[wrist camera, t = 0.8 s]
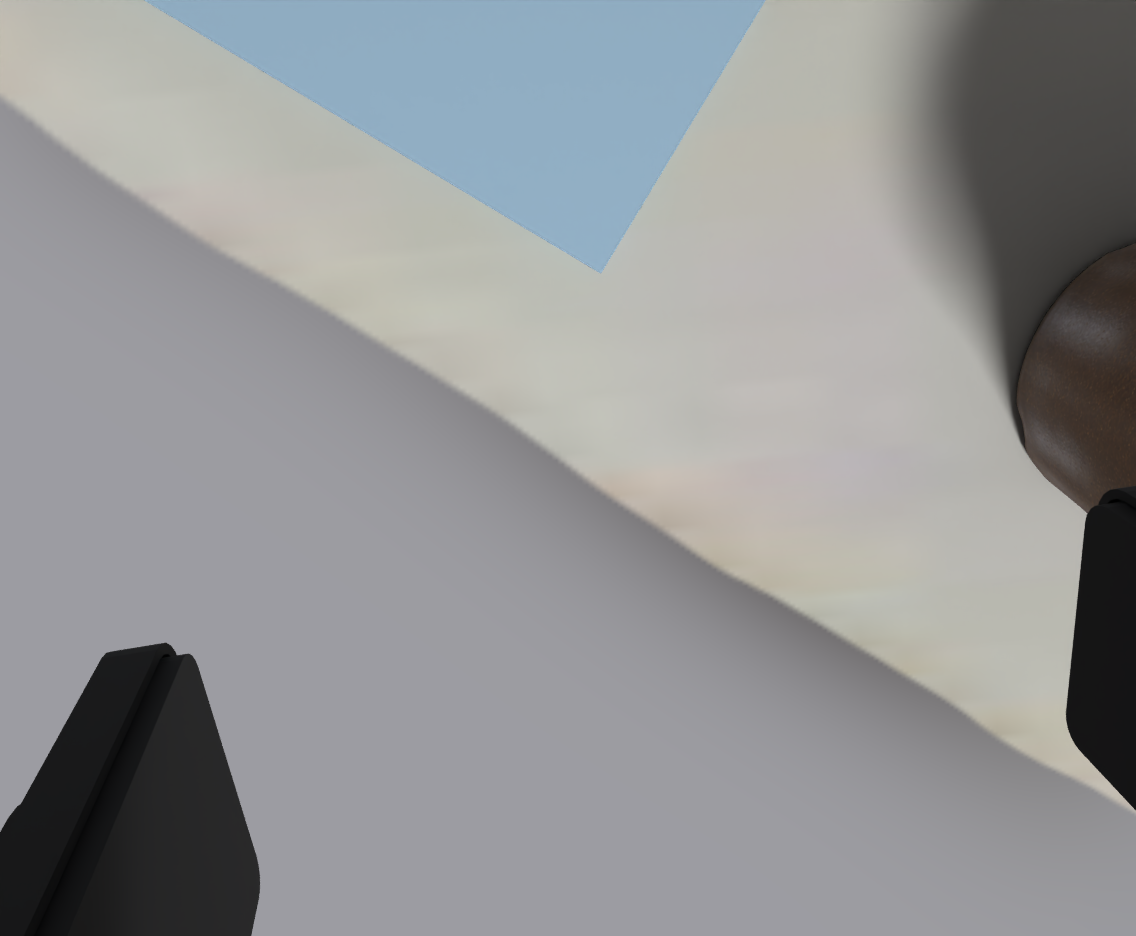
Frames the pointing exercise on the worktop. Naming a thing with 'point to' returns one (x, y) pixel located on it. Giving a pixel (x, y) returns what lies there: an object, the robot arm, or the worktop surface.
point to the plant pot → (1085, 383)
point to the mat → (503, 91)
